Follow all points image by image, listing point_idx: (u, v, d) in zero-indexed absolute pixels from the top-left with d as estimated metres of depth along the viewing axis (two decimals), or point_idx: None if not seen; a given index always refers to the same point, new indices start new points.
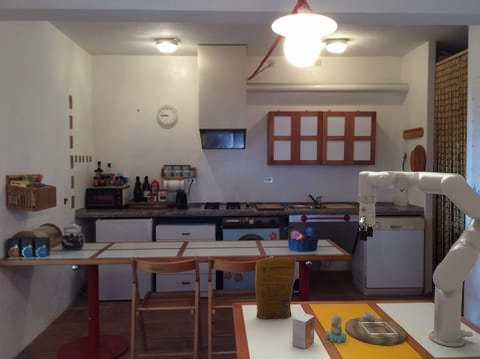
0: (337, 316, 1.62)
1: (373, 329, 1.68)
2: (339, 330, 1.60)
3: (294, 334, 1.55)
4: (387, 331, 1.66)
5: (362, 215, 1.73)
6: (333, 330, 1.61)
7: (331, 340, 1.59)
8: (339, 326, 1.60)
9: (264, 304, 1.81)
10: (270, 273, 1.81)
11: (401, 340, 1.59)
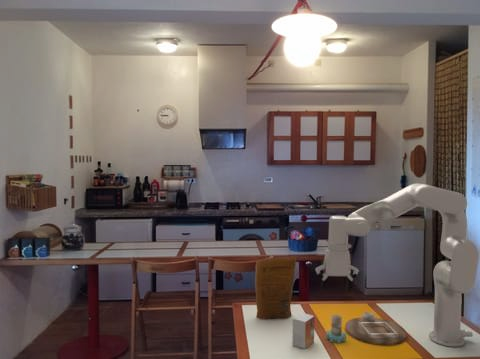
0: (337, 316, 1.62)
1: (373, 329, 1.68)
2: (339, 330, 1.60)
3: (294, 334, 1.55)
4: (387, 331, 1.66)
5: None
6: (333, 330, 1.61)
7: (331, 340, 1.59)
8: (339, 326, 1.60)
9: (264, 304, 1.81)
10: (270, 273, 1.81)
11: (401, 340, 1.59)
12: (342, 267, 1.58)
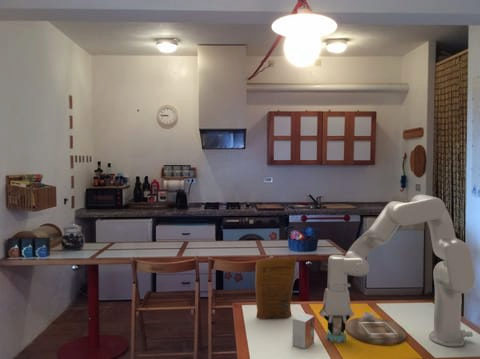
0: (337, 316, 1.62)
1: (373, 329, 1.68)
2: (339, 330, 1.60)
3: (294, 334, 1.55)
4: (387, 331, 1.66)
5: None
6: (333, 330, 1.61)
7: (331, 340, 1.59)
8: (339, 326, 1.60)
9: (264, 304, 1.81)
10: (270, 273, 1.81)
11: (401, 340, 1.59)
12: (342, 307, 1.59)
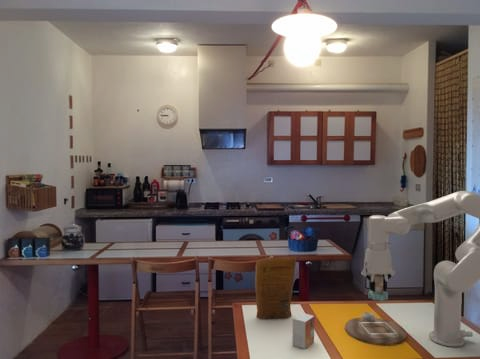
0: (378, 275, 1.65)
1: (373, 329, 1.68)
2: (381, 288, 1.63)
3: (294, 334, 1.55)
4: (387, 331, 1.66)
5: None
6: (375, 288, 1.63)
7: (374, 298, 1.62)
8: (381, 284, 1.63)
9: (264, 304, 1.81)
10: (270, 273, 1.81)
11: (401, 340, 1.59)
12: (383, 265, 1.62)
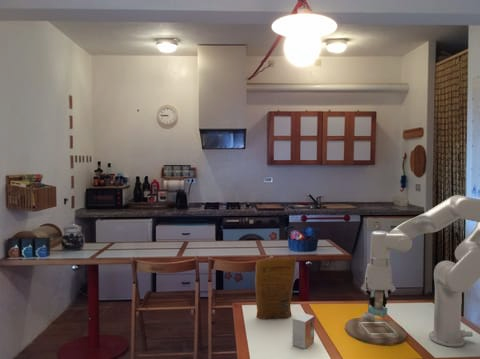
0: (379, 291, 1.65)
1: (373, 329, 1.68)
2: (381, 304, 1.63)
3: (294, 334, 1.55)
4: (387, 331, 1.66)
5: None
6: (375, 304, 1.64)
7: (373, 314, 1.63)
8: (381, 300, 1.63)
9: (264, 304, 1.81)
10: (270, 273, 1.81)
11: (401, 340, 1.59)
12: (384, 281, 1.62)
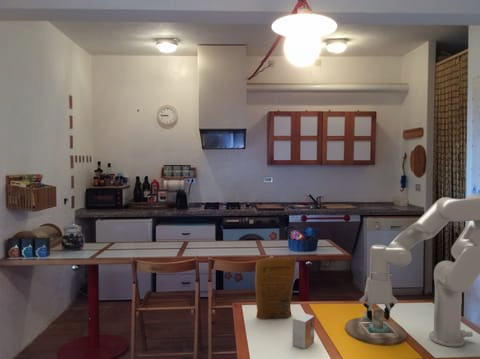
0: (379, 309, 1.66)
1: None
2: (381, 323, 1.64)
3: (294, 334, 1.55)
4: None
5: None
6: (375, 323, 1.64)
7: None
8: (381, 319, 1.64)
9: (264, 304, 1.81)
10: (270, 273, 1.81)
11: (401, 340, 1.59)
12: (384, 295, 1.63)
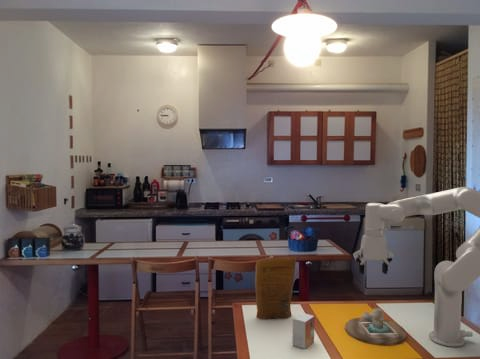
0: (379, 309, 1.66)
1: None
2: (381, 323, 1.64)
3: (294, 334, 1.55)
4: None
5: None
6: (375, 323, 1.64)
7: None
8: (381, 319, 1.64)
9: (264, 304, 1.81)
10: (270, 273, 1.81)
11: (401, 340, 1.59)
12: (379, 251, 1.66)
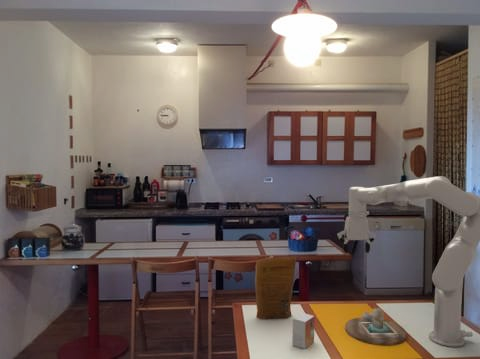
0: (379, 309, 1.66)
1: None
2: (381, 323, 1.64)
3: (294, 334, 1.55)
4: None
5: None
6: (375, 323, 1.64)
7: None
8: (381, 319, 1.64)
9: (264, 304, 1.81)
10: (270, 273, 1.81)
11: (401, 340, 1.59)
12: (361, 232, 1.78)
